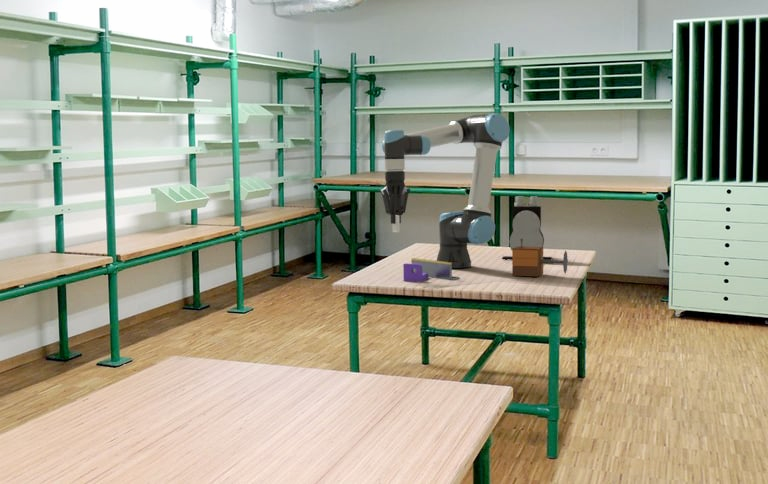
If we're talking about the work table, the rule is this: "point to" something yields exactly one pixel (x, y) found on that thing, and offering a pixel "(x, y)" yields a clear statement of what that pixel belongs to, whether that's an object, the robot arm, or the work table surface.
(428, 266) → the wall
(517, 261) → the brown box with disc
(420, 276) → the bracket
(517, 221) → the mechanical component
